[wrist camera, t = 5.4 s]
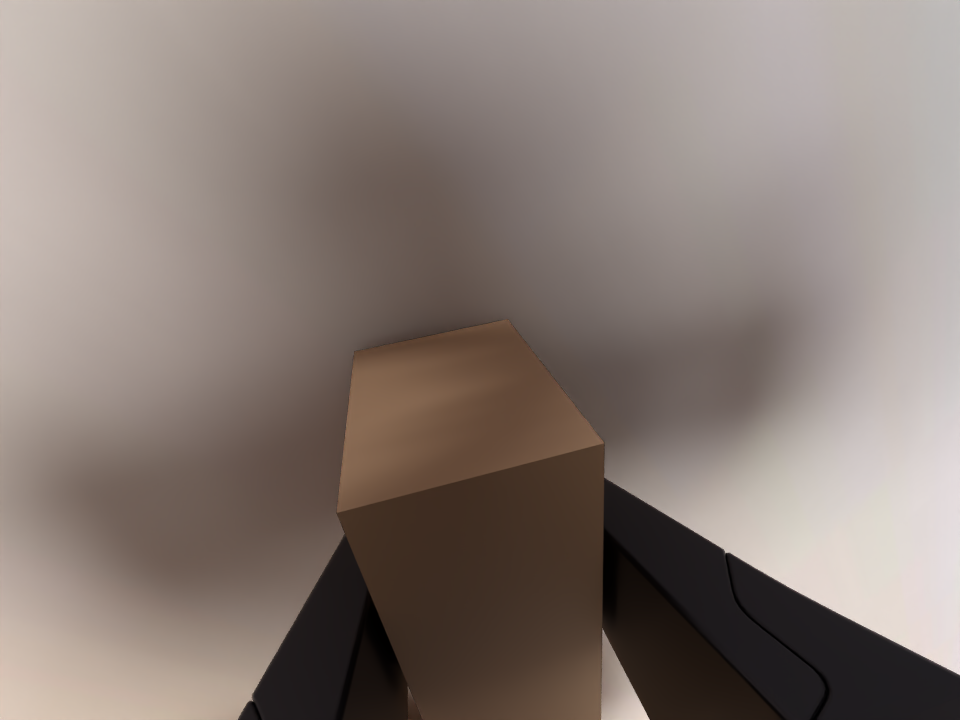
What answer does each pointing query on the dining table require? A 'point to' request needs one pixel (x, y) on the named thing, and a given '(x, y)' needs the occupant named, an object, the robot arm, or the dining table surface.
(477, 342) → the batten
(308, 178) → the dining table surface
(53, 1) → the dining table surface
